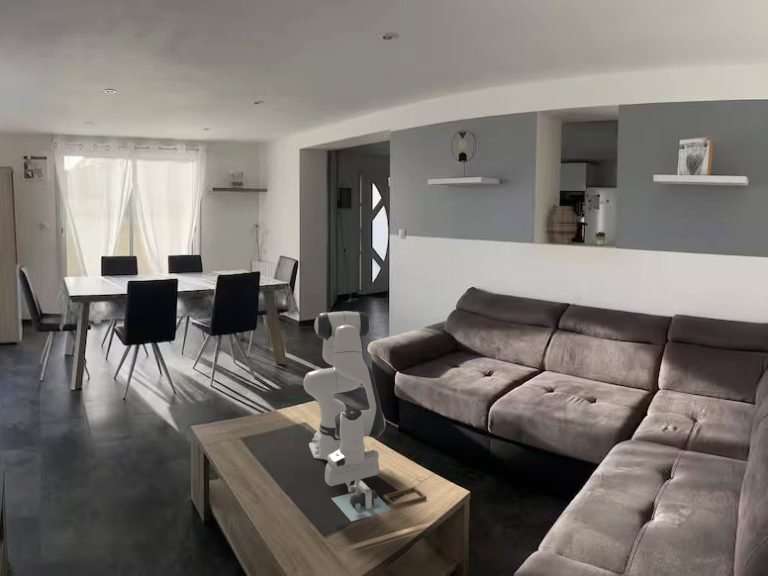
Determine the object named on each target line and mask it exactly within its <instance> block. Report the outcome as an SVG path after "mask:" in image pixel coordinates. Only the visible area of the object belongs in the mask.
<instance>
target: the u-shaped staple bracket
mask: <svg viewBox="0 0 768 576" xmlns="http://www.w3.org/2000/svg"><path fill="white" fill-rule="evenodd" d="M372 490H373V489H371V488H370V487H368V485H367V484H366V483H365V482H364V481H362V479H360V483H359V485H358V486H357V491H354V492H356V494H360V493H362V491H363V492H364V493H365V505H366V509H370V508H372Z"/></svg>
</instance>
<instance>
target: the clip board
mask: <svg viewBox="0 0 768 576" xmlns="http://www.w3.org/2000/svg"><path fill="white" fill-rule="evenodd" d="M362 493H364V492H363V491H362ZM353 495H356V492H355V491H354V492H349V493H346V494H344V495H338V496H335V497H331V500H332V501H333V502H334V503H335V504H336V506H337V507H338V508H339V509H340V510H341V511H342V513H344V515H345V516H346V517H347V518H348V519H349V521H350V522H355V521H358V520H362V519H365V518H368V517H373V516H376V515H379V514H384V513H387V512H391V511H392V510H393V509H392V508H390V506H388V504H387V503H385V502H384V501H383V500H382V499H381V498H380V497H379V496H378V495H377V498H376V499H373V502H372V508H370V509H366V505H365V504H364V505H361V504H360V503H357V504H356V507H352V505H351V502H350V497H351V496H353Z"/></svg>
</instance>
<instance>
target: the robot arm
mask: <svg viewBox="0 0 768 576" xmlns="http://www.w3.org/2000/svg"><path fill="white" fill-rule="evenodd" d="M315 318H316V319H315V320H314V326H313V327H314V331H315V333H316V336H317V337H318V338H320V339H322V341H323V343H322V359H323V360H324V361H325V362H326V363H327V364H329V365H331V366H332V367H327V368H321V369H320V368H319V369H315V370H311V371H308V372H307V373H306V374H305V376H304V378H303V382H302V383H303V388H304V390H305V392H306V393H307V394H308V395H310V396H311V397H313V398H314V399H315V400H316V402H317V404H318V407H319V409H320V410H319V412H320V423H319V429H318V431H316V432H315V433H314V435H313V438H312V439H311V442H309V443H308V447H309V449H310V451H311V454H312V456H313V458H314V459H316V460H317V459H318V460H325V461H327V463H326V466H325V470H324V480H325V483H326V484H327V485H328V486H330V487H333V486H338V485H342V484H346V486H347V489H348V493H354V492H355V491H357V486H358V485H359V483H360V480H363V479H366V478H367V479H368V478H371V477H374V476H375V477H376V476H377V475H379V473H380V465H379V452H378V450H375V449H372V450H371V449H370V450H368V451H366V449H365V446H366V445H365V442H364V438H367V437H368V438H378V437H380V436H381V435H382V434H383V433H385V430H386V419H385V416H384V413H383V411H382V406H381V401H380V397H379V393H378V388H377V385H376V380H375V376H374V372H373V370H372V368H371V367H370V366H368V365H367V364H366V362H365V361H364V358H363V349H362V338H365V337H367V336H368V334H369V333H370V328H371V322H370V318H369V316H368V314H367V313H366V312H363V311H362V312H361V311H345V310H344V311H331V312H326V311H325V312H321V313H318V315H316V317H315ZM361 385H363V387H364V389H365V392H366V396H367V402H368V405H369V408H368V409H362V410H360V409H358V408H355V407H351V408H347V407H346V405H345V403H344V402H343V401H341V400H339V399H337V398H335V397H334V394H339V393H345V392H351V391H354V390H356V389H359V388H360V386H361ZM352 482H354V484H352V485H351V483H352Z"/></svg>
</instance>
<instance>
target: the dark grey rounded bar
mask: <svg viewBox="0 0 768 576" xmlns="http://www.w3.org/2000/svg"><path fill="white" fill-rule="evenodd" d="M371 490H372V502H373V499H376V498H377V496H378V494H377V491H376V490H374V489H371ZM350 502H351V505H352V507H356V504H357V503H360V504H361V505H364V504H365V493H360V494H356V495H353V496H351V497H350Z"/></svg>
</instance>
